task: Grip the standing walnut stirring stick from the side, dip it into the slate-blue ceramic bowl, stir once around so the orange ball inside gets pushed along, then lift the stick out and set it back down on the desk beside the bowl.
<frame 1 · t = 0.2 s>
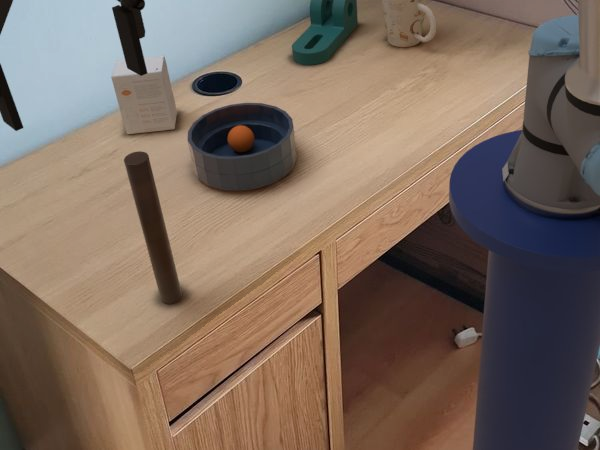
hand: (78, 97, 77), 28 cm above the table, tool pointing down, fingers open, 13 cm apart
ball: (241, 139, 117), point 3 cm above the table, touching bowl
mug: (412, 44, 143), on the table
small box: (152, 124, 129), on the table
bowl: (245, 163, 117), on the table
stick: (171, 296, 95), on the table
bracket: (323, 44, 147), on the table
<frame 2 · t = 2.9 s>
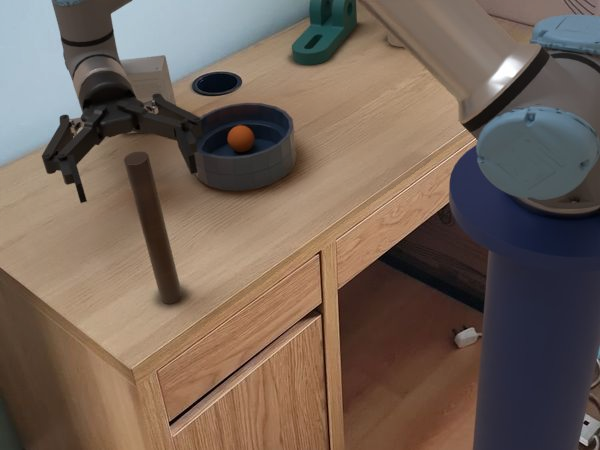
hand: (138, 178, 94), 12 cm above the table, tool horizontal, fingers open, 13 cm apart
small box: (152, 124, 129), on the table, touching arm
everything else where it was.
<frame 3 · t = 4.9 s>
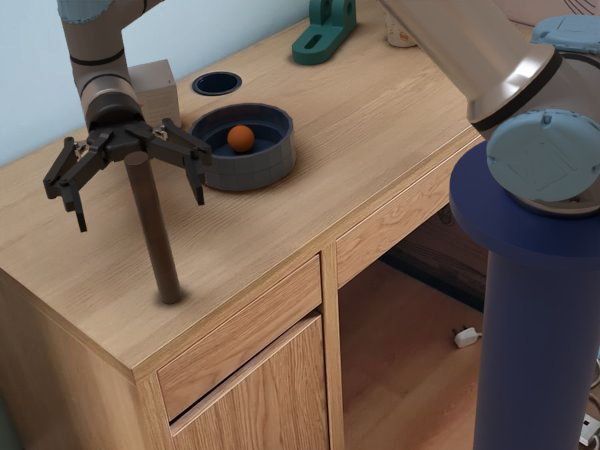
hand: (142, 209, 90), 12 cm above the table, tool horizontal, fingers open, 13 cm apart
small box: (153, 121, 127), point 1 cm above the table, touching arm
everything else where it was.
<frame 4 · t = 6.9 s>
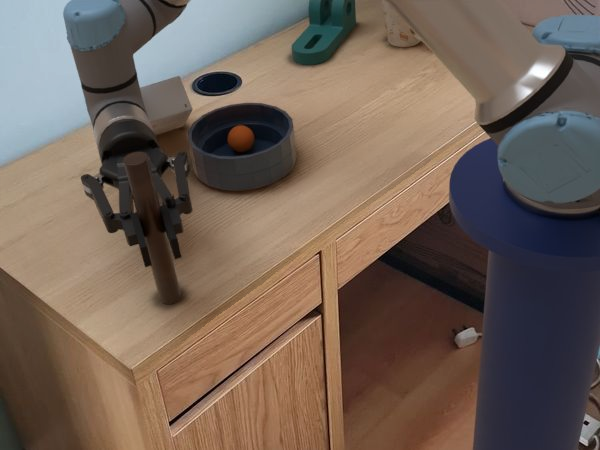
hand: (161, 252, 84), 11 cm above the table, tool horizontal, fingers closed on stick, 2 cm apart
small box: (154, 118, 126), point 2 cm above the table, touching arm
stick: (170, 296, 95), on the table, touching gripper
everything else where it was.
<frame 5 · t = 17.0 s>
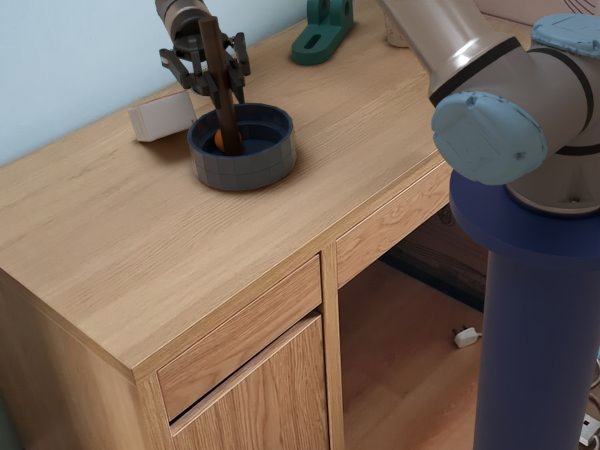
hand: (229, 97, 105), 13 cm above the table, tool horizontal, fingers closed on stick, 3 cm apart
ball: (228, 139, 118), point 3 cm above the table, tilted 30°, touching bowl
small box: (154, 117, 125), point 2 cm above the table, touching bowl
stick: (234, 154, 115), point 2 cm above the table, tilted 10°, touching gripper
everything else where it was.
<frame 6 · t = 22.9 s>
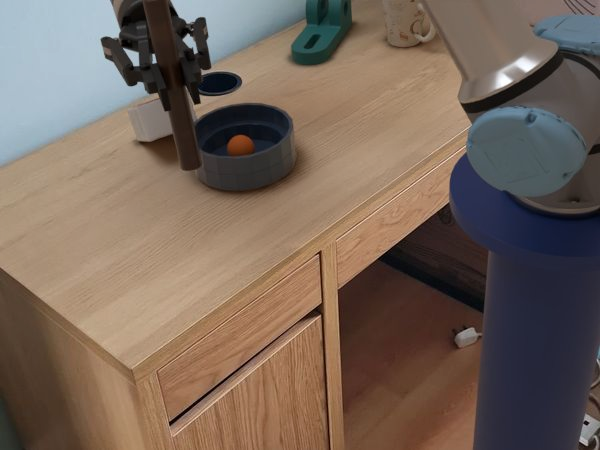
hand: (180, 96, 84), 24 cm above the table, tool horizontal, fingers closed on stick, 3 cm apart
ball: (240, 148, 115), point 3 cm above the table, tilted 78°, touching bowl
stick: (191, 166, 94), point 13 cm above the table, tilted 9°, touching gripper
everything else where it was.
when the fingers open (11 cm above the table, at t = 28.7 s): stick stays where it is, point 1 cm above the table.
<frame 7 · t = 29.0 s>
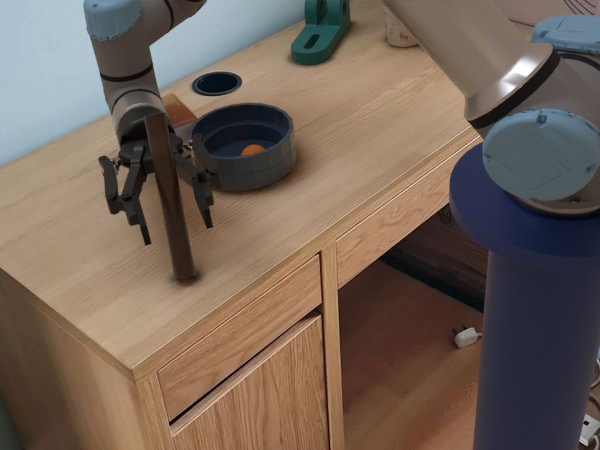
hand: (177, 227, 89), 10 cm above the table, tool horizontal, fingers open, 6 cm apart
ball: (254, 158, 113), point 3 cm above the table, tilted 161°, touching bowl
small box: (152, 115, 125), point 3 cm above the table
stick: (185, 276, 97), point 1 cm above the table, tilted 29°
everything else where it was.
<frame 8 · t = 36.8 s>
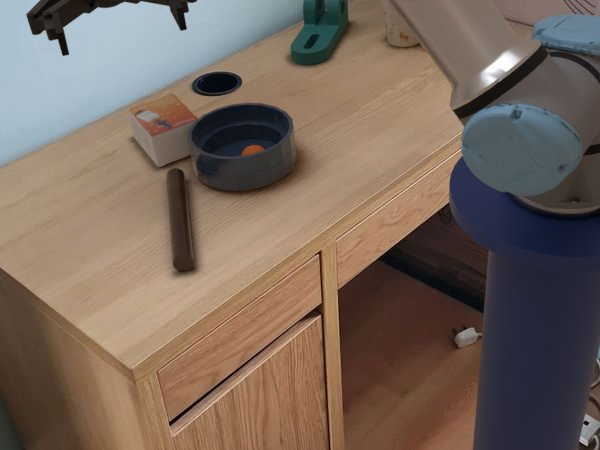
hand: (123, 31, 89), 28 cm above the table, tool horizontal, fingers open, 13 cm apart
stick: (183, 263, 98), point 1 cm above the table, tilted 90°
at the end: ball moved 6.1 cm from its start; ball inside the target area in the bowl (3.3 cm from its centre), point 2.6 cm above the bowl's base; stick inside the target area (2.8 cm from its centre), point 1.3 cm above the table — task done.
